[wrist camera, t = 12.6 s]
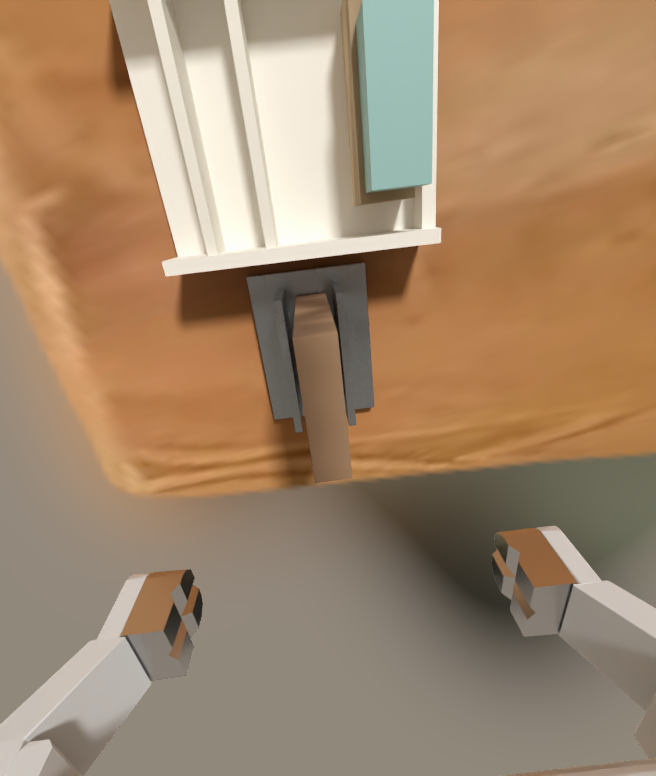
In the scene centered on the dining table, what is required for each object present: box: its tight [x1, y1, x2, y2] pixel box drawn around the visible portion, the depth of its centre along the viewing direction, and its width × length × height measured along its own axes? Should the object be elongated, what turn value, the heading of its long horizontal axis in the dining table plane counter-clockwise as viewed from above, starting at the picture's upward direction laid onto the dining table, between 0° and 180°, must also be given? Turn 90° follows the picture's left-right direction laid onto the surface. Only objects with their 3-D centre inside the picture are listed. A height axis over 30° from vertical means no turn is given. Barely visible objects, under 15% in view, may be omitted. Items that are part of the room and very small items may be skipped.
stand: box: [246, 262, 374, 433], centre depth 25 cm, size 8×11×5 cm
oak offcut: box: [340, 0, 415, 206], centre depth 20 cm, size 3×9×3 cm, turn 7°
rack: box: [109, 0, 441, 276], centre depth 20 cm, size 16×14×4 cm
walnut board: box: [293, 292, 352, 483], centre depth 22 cm, size 2×8×10 cm, turn 6°
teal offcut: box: [356, 0, 434, 193], centre depth 17 cm, size 3×7×2 cm, turn 6°
